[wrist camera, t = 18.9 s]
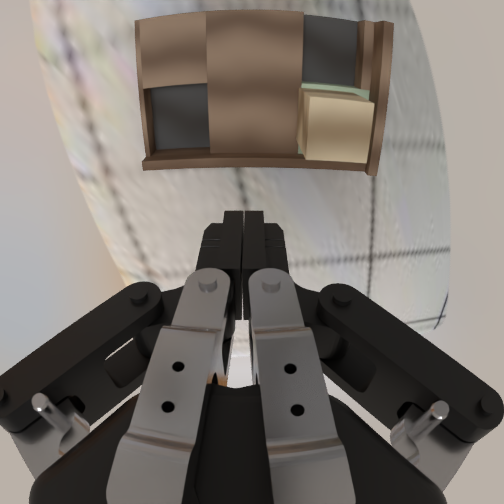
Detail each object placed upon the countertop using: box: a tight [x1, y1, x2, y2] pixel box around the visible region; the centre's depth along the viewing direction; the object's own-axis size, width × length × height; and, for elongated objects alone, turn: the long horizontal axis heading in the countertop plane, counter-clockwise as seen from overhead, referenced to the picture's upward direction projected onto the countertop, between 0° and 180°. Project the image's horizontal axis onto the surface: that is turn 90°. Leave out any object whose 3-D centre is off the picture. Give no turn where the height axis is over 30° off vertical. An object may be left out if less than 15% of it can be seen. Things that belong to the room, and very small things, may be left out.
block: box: [296, 88, 375, 163], centre depth 26 cm, size 6×6×6 cm
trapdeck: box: [135, 10, 394, 176], centre depth 27 cm, size 16×24×5 cm, turn 90°
